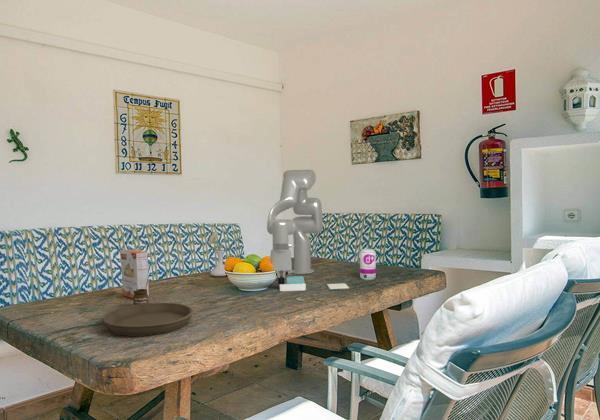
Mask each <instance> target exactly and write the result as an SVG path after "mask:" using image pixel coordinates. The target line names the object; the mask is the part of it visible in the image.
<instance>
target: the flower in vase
mask: <svg viewBox="0 0 600 420" xmlns="http://www.w3.org/2000/svg"><path fill="white" fill-rule="evenodd" d="M218 234H219V233H218V231H214V232H213V233H212V234H211V235H210V237H209V239H208V244H213V243H214V242H215V243H216V245H215V246H214V247H213V250H215V252H216V254H217V259H218V263H217V265H216V266H215V267H214V268H213V269H211V271H210V275H211V276H213V277H227V276H226V274H225V272H224V267H226V265H224V263H223V257H224V253H226V252H225V250H221V249H223V247H224V246H223V244H222V243H220V244H218V242H217V241H218V240H217V237H218ZM217 249H218V250H217Z"/></svg>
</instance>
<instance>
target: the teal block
mask: <svg viewBox="0 0 600 420" xmlns="http://www.w3.org/2000/svg"><path fill="white" fill-rule="evenodd" d="M285 279H286V280H285V281H286V284H304V283H305V278H304V276H303V275H299V276H297V275H296V276H295V275H294V276H292V275H291V276H285Z"/></svg>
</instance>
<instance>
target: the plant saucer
mask: <svg viewBox="0 0 600 420" xmlns="http://www.w3.org/2000/svg"><path fill="white" fill-rule="evenodd" d="M193 315H194V309H193V308H192V307H191V306H189V305H187V304H183V303H175V302H149V303H146V304H138V305H133V304H132V305H128V306H122V307H118V308H116V309H114V310H110V311H108V312H107V313H105V314H104V315H103V316H102V318H101V320H102V323H103V324H104V326H105V327H107V328H108V329H109V330H110V331H111V332H112V333H113V334H117V335H120V336H127V335H128V336H129V337H131V336H132V337H137V336H138V337H139V336H141V337H143V336H142V335H144V336H152V335H153V336H154V335H158V334H159V335H160V334H165V333H169V332H173V331H176V330H178V329H181V328H182V327H184V326H186V324H187V323H188V321H189V320H190V319H192V317H193Z"/></svg>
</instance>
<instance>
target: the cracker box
mask: <svg viewBox="0 0 600 420" xmlns="http://www.w3.org/2000/svg"><path fill="white" fill-rule="evenodd" d="M148 257H149V255H148V251H142V250H137V249H124V250H123V249H122V250H120V263H121V265H120V266H121V283H122V285H121V286H122V290H121V291H122V296H123V297H127V298H129V299H133V296H134V289H135V290H137V289H145V288H146V289H147V294H148V299H150V287H149V286H150V282H149V279H150V278H149V279H148V277H149V260H148V259H149V258H148ZM147 279H148V284H147V287H146V283H147ZM136 281H138V282H136ZM133 284H134V285H133ZM138 286H139V287H138ZM133 287H134V288H133Z"/></svg>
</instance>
